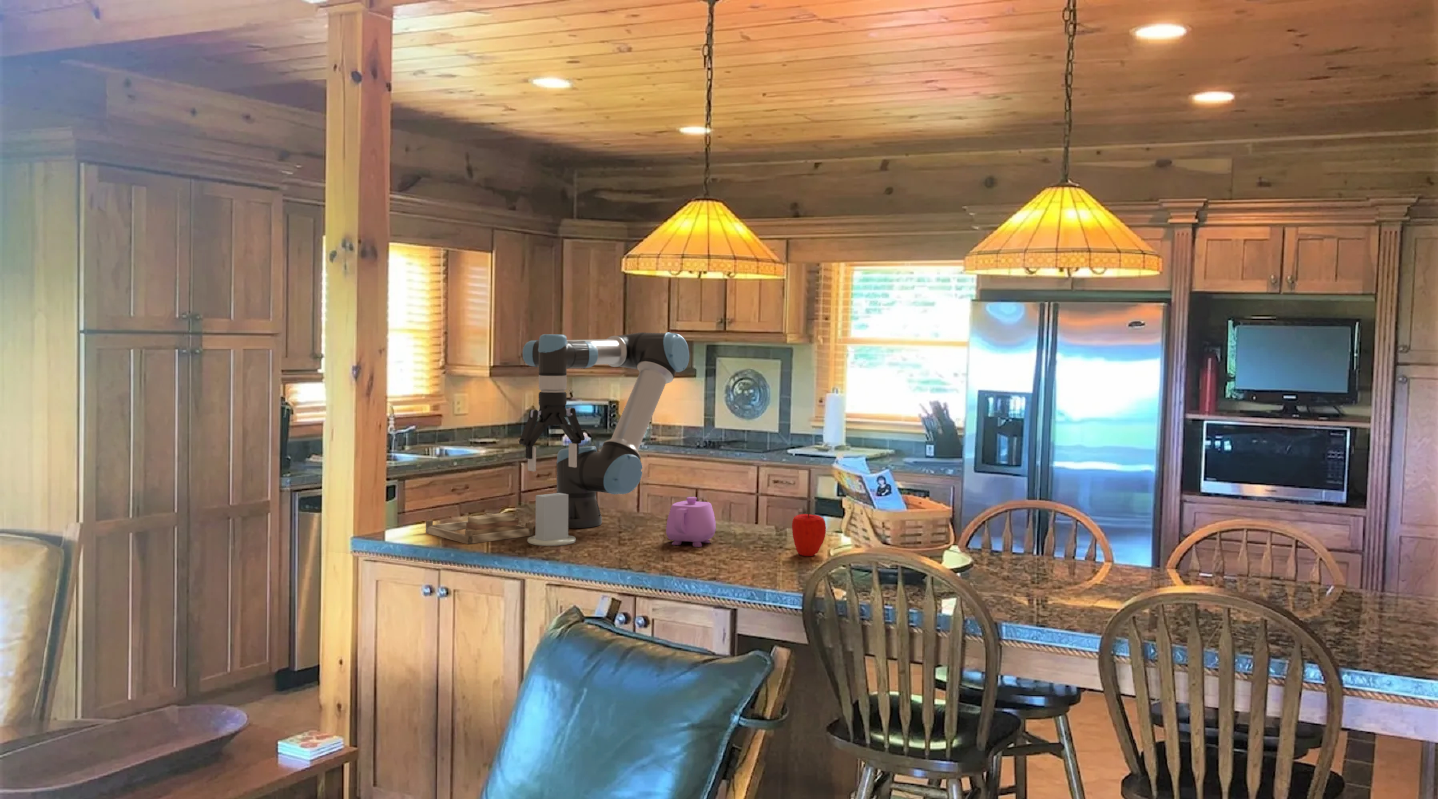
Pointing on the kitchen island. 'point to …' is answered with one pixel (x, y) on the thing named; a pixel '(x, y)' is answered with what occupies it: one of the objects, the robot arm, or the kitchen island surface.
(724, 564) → the kitchen island surface
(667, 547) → the kitchen island surface
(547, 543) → the plate
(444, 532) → the rack
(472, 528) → the offcut stack
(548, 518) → the gray rectangular block
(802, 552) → the apple
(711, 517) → the teapot
